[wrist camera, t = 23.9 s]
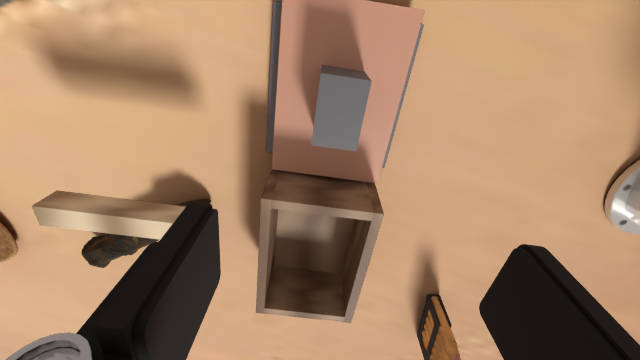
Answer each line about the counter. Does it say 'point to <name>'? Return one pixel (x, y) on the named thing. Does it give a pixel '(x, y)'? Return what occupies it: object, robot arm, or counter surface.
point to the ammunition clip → (436, 332)
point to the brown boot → (7, 244)
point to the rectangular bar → (106, 214)
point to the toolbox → (315, 244)
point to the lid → (340, 85)
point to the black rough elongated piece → (117, 245)
